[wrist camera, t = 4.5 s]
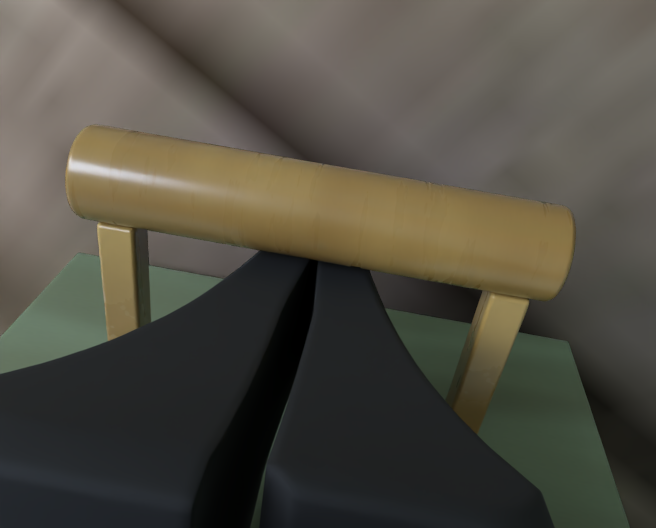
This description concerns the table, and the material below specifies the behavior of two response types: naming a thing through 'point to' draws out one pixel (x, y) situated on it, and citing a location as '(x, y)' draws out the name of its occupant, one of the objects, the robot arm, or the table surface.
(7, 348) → the drawer
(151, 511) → the robot arm
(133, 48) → the table surface
